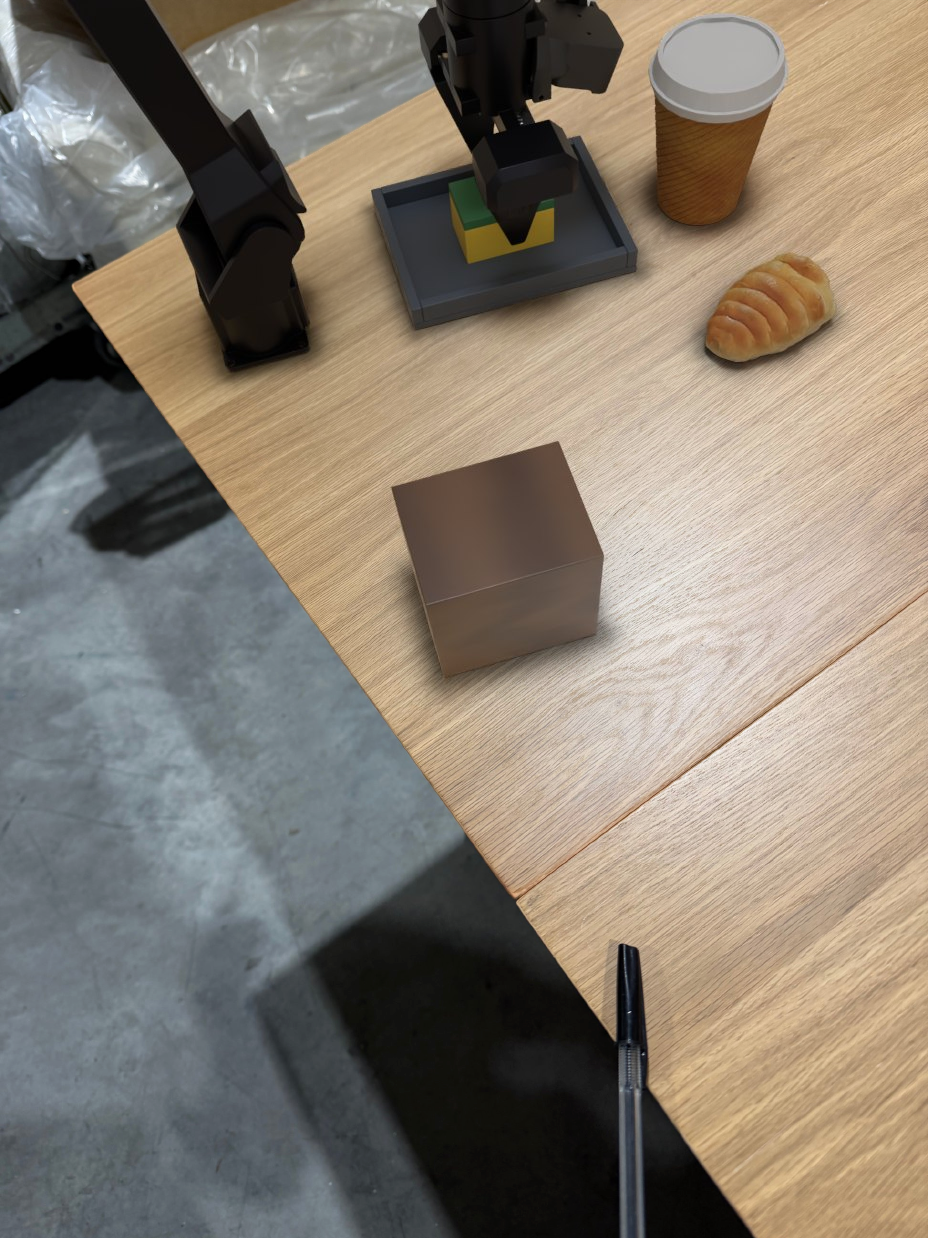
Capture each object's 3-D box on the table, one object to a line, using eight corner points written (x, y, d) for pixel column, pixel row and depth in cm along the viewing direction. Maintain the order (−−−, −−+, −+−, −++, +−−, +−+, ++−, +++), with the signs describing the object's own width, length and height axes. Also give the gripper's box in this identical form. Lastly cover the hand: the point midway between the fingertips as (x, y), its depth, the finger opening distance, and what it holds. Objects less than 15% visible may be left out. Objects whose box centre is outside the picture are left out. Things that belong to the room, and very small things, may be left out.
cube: (444, 678, 60) (425, 606, 51) (413, 571, 64) (390, 486, 55) (596, 634, 61) (604, 555, 52) (557, 530, 64) (558, 440, 55)
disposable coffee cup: (778, 178, 77) (815, 30, 66) (725, 256, 74) (755, 113, 63) (670, 142, 80) (689, -6, 69) (615, 216, 76) (625, 72, 66)
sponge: (467, 264, 75) (463, 222, 71) (452, 225, 77) (448, 182, 73) (554, 241, 75) (554, 198, 71) (536, 203, 77) (536, 159, 73)
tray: (414, 330, 73) (411, 310, 71) (374, 210, 79) (370, 189, 77) (636, 271, 74) (638, 249, 72) (579, 157, 80) (580, 134, 78)
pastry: (747, 388, 68) (757, 350, 65) (679, 335, 71) (686, 296, 67) (839, 319, 70) (853, 279, 67) (769, 270, 73) (780, 229, 69)
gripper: (667, 48, 55) (643, 259, 69) (566, -119, 64) (563, 99, 78) (481, 96, 55) (495, 298, 69) (403, -79, 63) (430, 133, 77)
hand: (500, 201), depth 73 cm, fingers open, 9 cm apart
